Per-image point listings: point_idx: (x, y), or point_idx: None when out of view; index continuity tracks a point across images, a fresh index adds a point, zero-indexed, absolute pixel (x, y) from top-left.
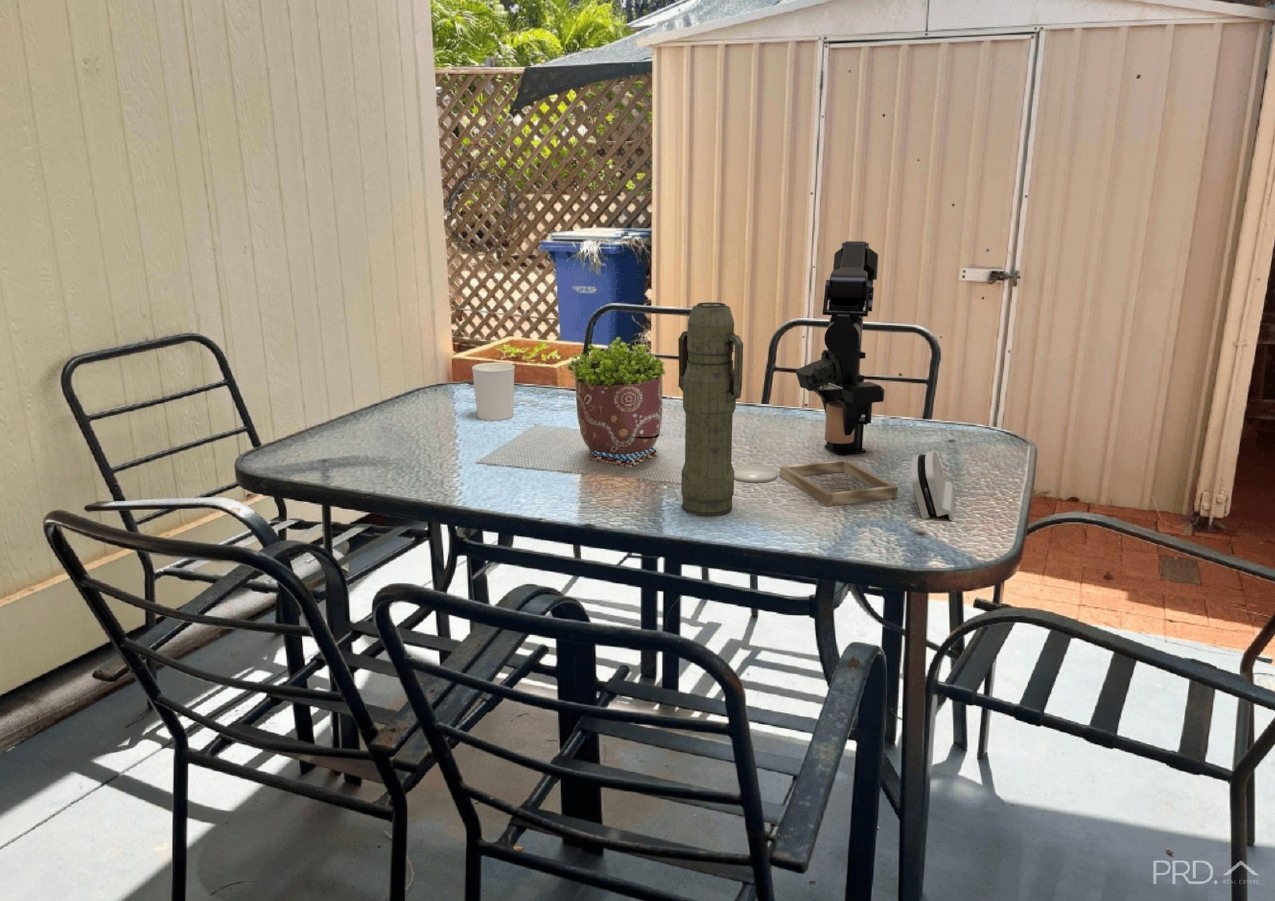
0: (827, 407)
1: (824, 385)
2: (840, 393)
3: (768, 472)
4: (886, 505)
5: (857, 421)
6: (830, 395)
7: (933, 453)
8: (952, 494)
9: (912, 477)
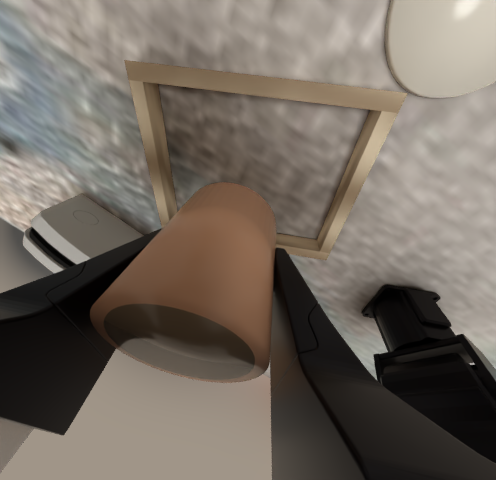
0: (186, 285)
1: None
2: (277, 443)
3: (432, 50)
4: (140, 187)
5: None
6: (294, 418)
7: None
8: None
9: (42, 220)
